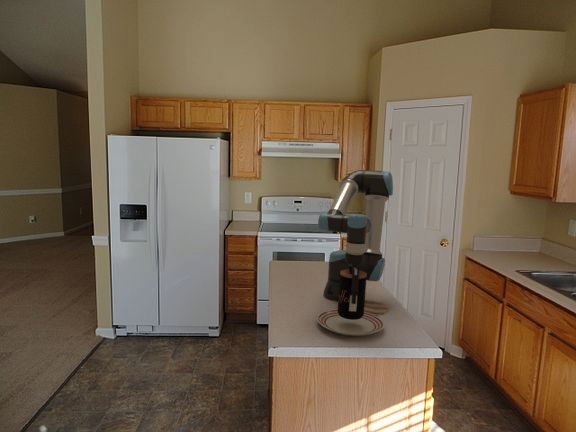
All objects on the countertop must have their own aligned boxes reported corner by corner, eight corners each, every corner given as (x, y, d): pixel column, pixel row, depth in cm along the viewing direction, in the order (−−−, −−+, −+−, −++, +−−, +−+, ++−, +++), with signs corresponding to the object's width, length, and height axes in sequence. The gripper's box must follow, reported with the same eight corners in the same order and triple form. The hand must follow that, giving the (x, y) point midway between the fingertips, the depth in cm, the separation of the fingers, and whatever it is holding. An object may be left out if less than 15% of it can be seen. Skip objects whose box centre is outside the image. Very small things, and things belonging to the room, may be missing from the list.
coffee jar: (333, 311, 167) (335, 269, 165) (356, 309, 171) (359, 268, 168) (344, 321, 157) (347, 276, 155) (368, 319, 160) (371, 275, 158)
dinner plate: (305, 317, 172) (306, 310, 172) (361, 312, 182) (361, 304, 182) (335, 345, 147) (335, 337, 147) (397, 337, 157) (398, 329, 156)
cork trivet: (351, 301, 195) (351, 300, 195) (384, 303, 194) (385, 302, 194) (355, 313, 179) (355, 312, 179) (391, 315, 178) (391, 314, 178)
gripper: (343, 246, 172) (339, 295, 175) (348, 259, 149) (344, 315, 152) (360, 247, 172) (357, 297, 175) (368, 260, 149) (364, 317, 152)
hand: (351, 305), depth 163 cm, fingers closed on coffee jar, 11 cm apart
